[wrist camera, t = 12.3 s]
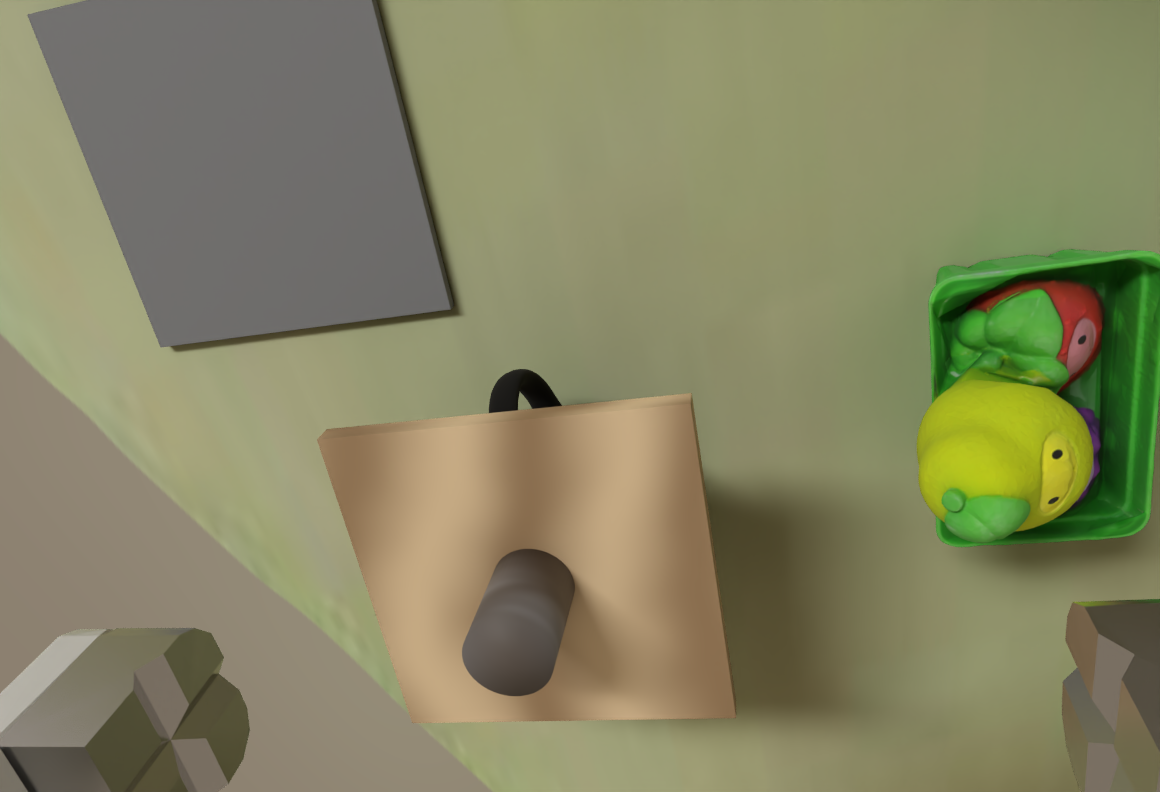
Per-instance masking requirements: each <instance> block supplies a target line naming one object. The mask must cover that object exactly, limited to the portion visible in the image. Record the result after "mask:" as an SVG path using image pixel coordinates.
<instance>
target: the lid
mask: <svg viewBox="0 0 1160 792" xmlns="http://www.w3.org/2000/svg"><path fill="white" fill-rule="evenodd" d="M317 441H318V444H319V447H320V450H321V453H322V456H323V459H324V462H325V465H326V468H327V471H328V474H329V477H330V480H331V483H332V486H333V489H334V491H335V494H336V497H337V500H338V503H339V506H340V509H341V512H342V515H343V518H344V521H345V524H346V527H347V530H348V533H349V536H350V539H351V542H352V545H353V548H354V551H355V554H356V557H357V560H358V563H359V566H360V569H361V572H362V575H363V578H364V581H365V584H366V586H367V589H368V592H369V595H370V598H371V601H372V604H373V607H374V610H375V613H376V616H377V619H378V622H379V625H380V628H381V631H382V634H383V637H384V640H385V643H386V646H387V649H388V652H389V655H390V658H391V661H392V664H393V667H394V670H395V673H396V676H397V679H398V681H399V684H400V687H401V690H402V693H403V696H404V699H405V702H406V705H407V708H408V711H409V714H410V717H411V720H412V723H445V722H509V721H572V720H636V719H699V718H736V698H735V691H734V684H733V677H732V670H731V663H730V656H729V649H728V642H727V635H726V629H725V622H724V615H723V608H722V601H721V594H720V587H719V580H718V573H717V566H716V559H715V552H714V545H713V538H712V531H711V524H710V517H709V511H708V504H707V497H706V490H705V483H704V476H703V469H702V462H701V455H700V448H699V441H698V434H697V427H696V420H695V413H694V406H693V400H692V393H688V394H678V395H668V396H658V397H648V398H638V399H627V400H617V401H607V402H597V403H587V404H577V405H567V406H557V407H547V408H537V409H527V410H516V411H506V412H496V413H486V414H476V415H466V416H456V417H446V418H436V419H426V420H416V421H406V422H395V423H385V424H375V425H365V426H355V427H345V428H335V429H327V430H326V431H325V432H324V433H323V434H322V435H321V436H320V437H319V438H318V439H317Z"/></svg>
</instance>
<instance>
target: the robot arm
mask: <svg viewBox="0 0 1160 792" xmlns="http://www.w3.org/2000/svg"><path fill="white" fill-rule="evenodd" d="M1066 643H1067V645H1068V647H1069V649H1070V652H1071V654H1072V656H1073V658H1074V661H1075V663H1076V665H1077V667H1078V668H1076V669H1075V670H1074V671H1073V672H1072V673H1071V674H1070V675H1069V676H1068V677H1067V678H1066V679H1065V680H1064V681H1063V692H1062V717H1063V724H1064V732H1065V740H1066V747H1067V750H1068V754H1069V758H1070V761H1071V765H1072V768H1073V772H1074V775H1075V777H1076V780H1077V783H1078V785H1079V788H1080V791H1081V792H1160V599H1148V600H1119V601H1091V602H1073V603H1072V605H1071V608H1070V611H1069V613H1068V616H1067V628H1066ZM223 659H224V657H223V655H222V653H221V651H220V649H219V647H218V645H217V643H216V641H215V640H214V638H213V636H212V634H211V633H209V632H206V631H202V630H199V629H196V628H117V629H115V630H110V629H81V630H80V629H79V630H75V631H73V632H70V633H67V634H64V635H62V636H59V637H58V638H57V639H56V640H55V641H54V642H53V643H52V644H51V645H50V646H49V647H48V648H47V649H46V650H45V651H43V652H42V653H41V654H40V655H39V656H38V657H37V659H35V660H34V661H33V662H32V663H31V664H30V665H29V666H28V667H27V668H26V669H25V670H24V671H23V672H22V673H21V674H20V675H19V676H18V677H17V678H16V679H15V680H14V681H13V682H12V683H11V684H10V685H9V686H8V687H7V688H6V689H4V690H3V692H2V693H0V792H218V791H219V790H221V789H222V788H224V787H225V786H226V785H227V784H229V782H230V780H231V779H232V777H233V775H234V773H235V772H236V770H237V769H238V767H239V765H240V764H241V762H242V760H243V758H244V753H245V749H246V744H247V740H248V736H249V731H250V728H249V720H248V712H247V707H246V704H245V702H244V700H243V698H242V695H241V693H240V691H239V690H238V689H237V688H236V687H235V686H233V685H232V684H231V683H230V682H228V681H227V680H226V679H225V678H223V677H222V676H221V675H220V674H219V672H220V669H221V666H222V662H223Z"/></svg>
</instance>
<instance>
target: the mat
mask: <svg viewBox="0 0 1160 792" xmlns="http://www.w3.org/2000/svg"><path fill="white" fill-rule="evenodd" d="M28 18H29V20H30V23H31V25H32V28H33V30H34V33H35V35H36V38H37V40H38V43H39V45H40V48H41V50H42V53H43V55H44V58H45V60H46V63H47V65H48V68H49V70H50V73H51V75H52V78H53V80H54V83H55V85H56V88H57V90H58V93H59V95H60V98H61V100H62V103H63V105H64V108H65V110H66V113H67V115H68V118H69V120H70V123H71V125H72V128H73V130H74V133H75V135H76V137H77V140H78V142H79V145H80V147H81V150H82V152H83V155H84V157H85V160H86V162H87V165H88V167H89V170H90V172H91V175H92V177H93V180H94V182H95V185H96V187H97V190H98V192H99V195H100V197H101V200H102V202H103V205H104V207H105V210H106V212H107V215H108V217H109V220H110V222H111V225H112V227H113V230H114V232H115V235H116V237H117V240H118V242H119V245H120V247H121V250H122V252H123V255H124V257H125V260H126V262H127V265H128V267H129V270H130V272H131V275H132V277H133V280H134V282H135V285H136V287H137V290H138V292H139V295H140V297H141V300H142V302H143V305H144V307H145V310H146V312H147V315H148V317H149V320H150V322H151V324H152V327H153V329H154V332H155V334H156V337H157V339H158V342H159V344H160V347H167V346H175V345H183V344H190V343H198V342H206V341H213V340H221V339H228V338H236V337H244V336H251V335H259V334H267V333H274V332H282V331H290V330H297V329H305V328H312V327H320V326H328V325H335V324H343V323H351V322H358V321H366V320H373V319H381V318H389V317H396V316H404V315H412V314H419V313H427V312H435V311H442V310H450V309H452V307H453V306H454V304H453V300H452V296H451V292H450V288H449V284H448V280H447V276H446V272H445V268H444V264H443V260H442V256H441V252H440V249H439V245H438V241H437V237H436V233H435V229H434V225H433V221H432V217H431V213H430V209H429V205H428V201H427V197H426V193H425V189H424V185H423V182H422V178H421V174H420V170H419V166H418V162H417V158H416V154H415V150H414V146H413V142H412V138H411V134H410V130H409V126H408V122H407V119H406V115H405V111H404V107H403V103H402V99H401V95H400V91H399V87H398V83H397V79H396V75H395V71H394V67H393V63H392V59H391V55H390V52H389V48H388V44H387V40H386V36H385V32H384V28H383V24H382V20H381V16H380V12H379V8H378V4H377V0H86V1H82V2H78V3H74V4H70V5H65V6H61V7H57V8H53V9H49V10H45V11H40V12H36V13H32V14H28Z"/></svg>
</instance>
